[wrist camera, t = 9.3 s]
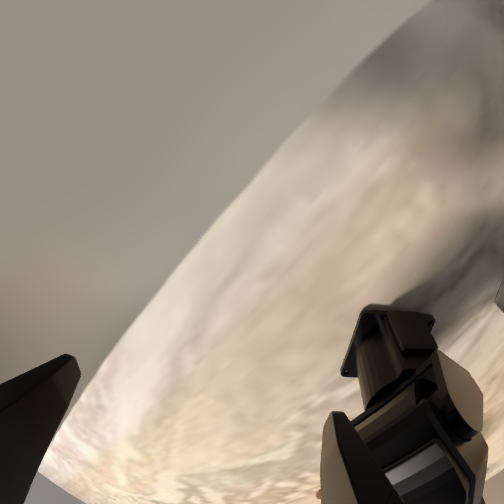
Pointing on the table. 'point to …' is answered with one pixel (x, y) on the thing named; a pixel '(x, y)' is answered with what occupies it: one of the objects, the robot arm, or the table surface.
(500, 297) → the egg carton
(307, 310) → the table surface
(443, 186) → the table surface
